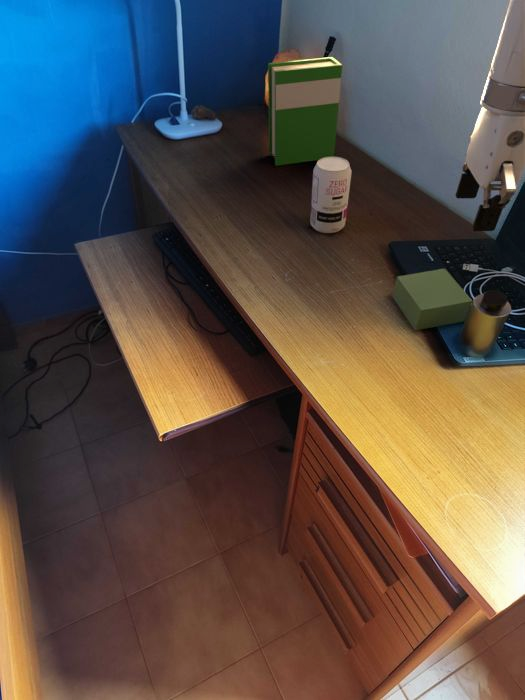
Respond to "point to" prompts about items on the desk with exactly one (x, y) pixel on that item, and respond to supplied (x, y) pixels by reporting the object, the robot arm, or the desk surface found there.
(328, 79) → the hardback book
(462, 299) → the block
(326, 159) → the supplement can
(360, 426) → the desk surface
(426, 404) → the desk surface
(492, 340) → the flask
